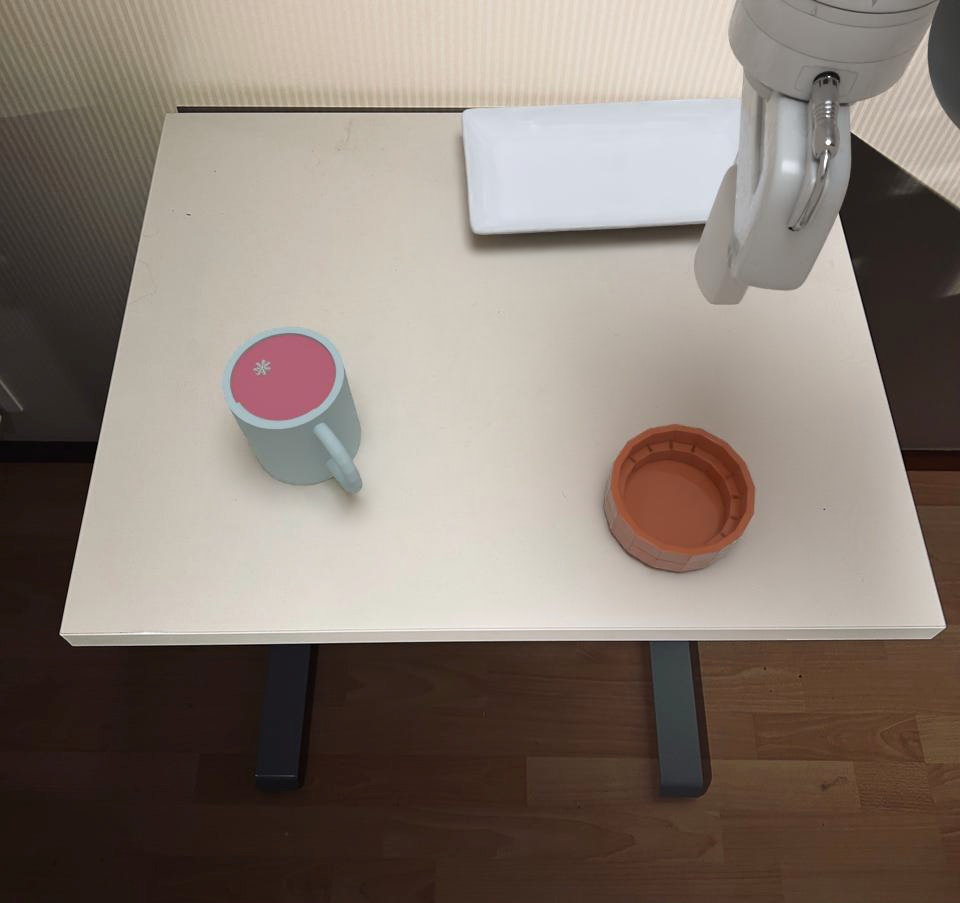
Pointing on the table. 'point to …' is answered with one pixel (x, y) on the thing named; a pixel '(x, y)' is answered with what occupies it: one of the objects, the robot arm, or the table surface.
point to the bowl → (678, 497)
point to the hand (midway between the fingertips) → (742, 217)
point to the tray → (597, 164)
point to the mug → (295, 406)
